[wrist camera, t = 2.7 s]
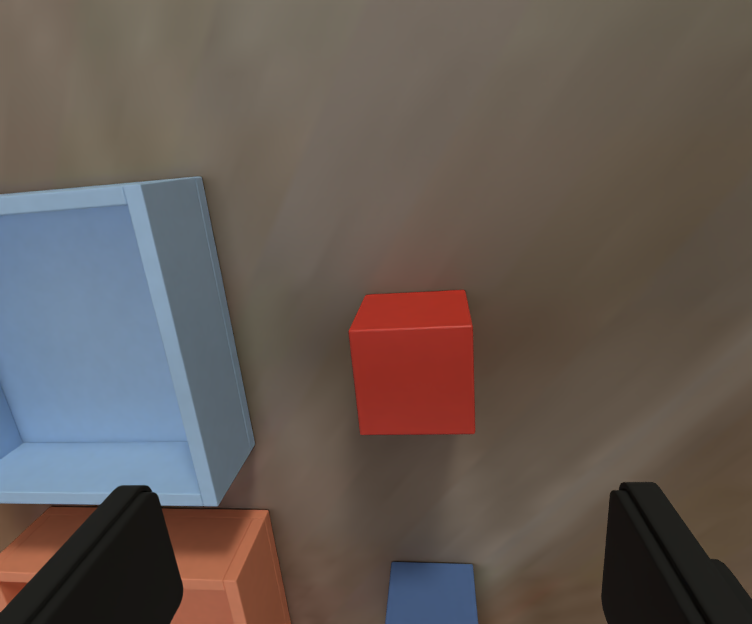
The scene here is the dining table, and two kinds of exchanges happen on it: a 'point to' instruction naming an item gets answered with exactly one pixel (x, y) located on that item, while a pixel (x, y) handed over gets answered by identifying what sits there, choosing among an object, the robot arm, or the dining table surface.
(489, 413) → the dining table surface
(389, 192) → the dining table surface
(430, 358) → the red block
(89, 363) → the blue bin
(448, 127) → the dining table surface
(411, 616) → the blue block
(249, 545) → the terracotta bin
